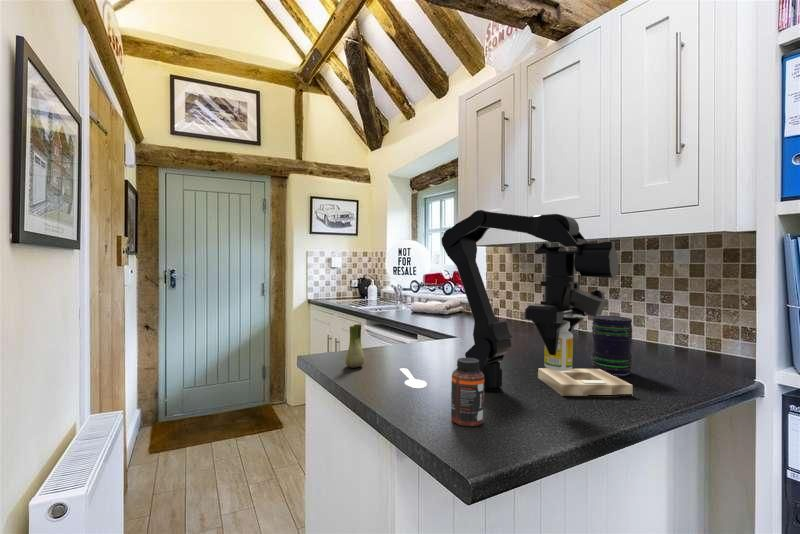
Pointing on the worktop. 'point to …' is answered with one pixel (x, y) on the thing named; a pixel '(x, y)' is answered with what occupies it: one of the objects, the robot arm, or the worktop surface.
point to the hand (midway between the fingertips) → (558, 352)
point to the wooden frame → (584, 382)
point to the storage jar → (612, 344)
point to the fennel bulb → (355, 348)
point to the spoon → (413, 380)
